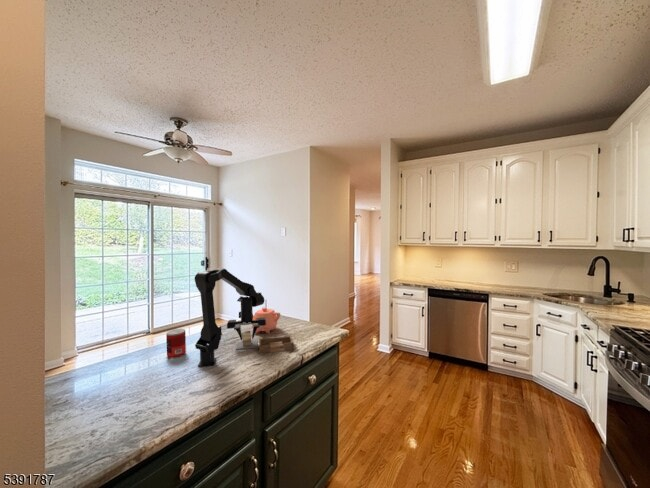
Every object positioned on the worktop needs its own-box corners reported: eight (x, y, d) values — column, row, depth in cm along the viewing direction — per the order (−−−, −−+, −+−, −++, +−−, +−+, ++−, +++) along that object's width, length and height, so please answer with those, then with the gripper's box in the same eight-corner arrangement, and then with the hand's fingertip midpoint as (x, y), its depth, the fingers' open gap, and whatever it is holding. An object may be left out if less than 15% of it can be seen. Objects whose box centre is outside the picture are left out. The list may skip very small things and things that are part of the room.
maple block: (251, 344, 137) (250, 332, 137) (242, 346, 136) (241, 334, 136) (251, 341, 141) (250, 330, 141) (243, 343, 140) (242, 331, 140)
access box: (293, 349, 131) (293, 342, 131) (259, 353, 127) (259, 346, 127) (291, 342, 140) (291, 335, 140) (259, 345, 137) (259, 339, 137)
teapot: (256, 337, 150) (256, 312, 150) (246, 329, 164) (245, 307, 164) (282, 331, 159) (282, 308, 159) (271, 324, 173) (270, 303, 173)
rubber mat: (257, 347, 135) (257, 346, 135) (236, 349, 132) (236, 349, 132) (257, 340, 144) (257, 339, 144) (237, 342, 142) (237, 341, 142)
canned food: (189, 351, 131) (188, 328, 131) (178, 358, 123) (178, 334, 123) (174, 351, 132) (173, 328, 132) (163, 358, 124) (162, 334, 124)
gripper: (265, 304, 148) (265, 332, 148) (229, 306, 144) (229, 336, 144) (265, 309, 137) (266, 339, 137) (226, 311, 133) (227, 343, 133)
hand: (247, 339), depth 138 cm, fingers open, 5 cm apart
